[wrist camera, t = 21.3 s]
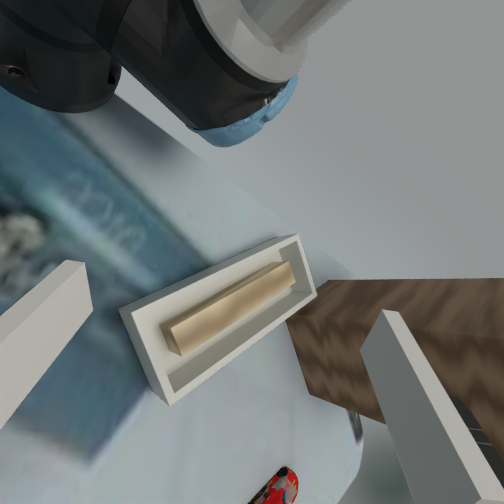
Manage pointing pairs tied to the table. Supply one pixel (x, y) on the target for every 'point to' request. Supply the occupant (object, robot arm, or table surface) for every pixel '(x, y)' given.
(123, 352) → the table surface
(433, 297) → the wooden block
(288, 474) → the race car
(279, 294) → the tray
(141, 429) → the table surface
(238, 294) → the wooden board
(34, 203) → the table surface
